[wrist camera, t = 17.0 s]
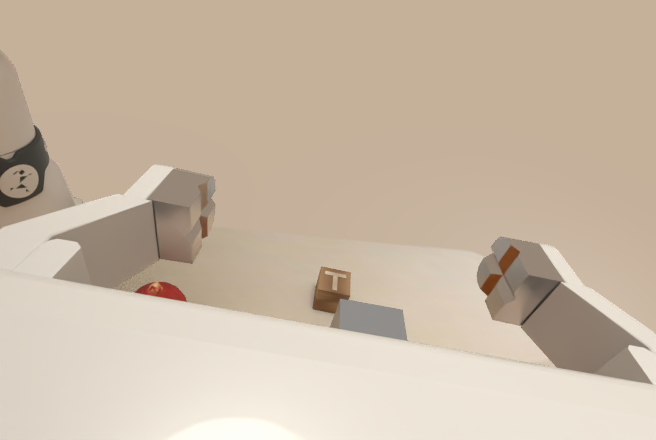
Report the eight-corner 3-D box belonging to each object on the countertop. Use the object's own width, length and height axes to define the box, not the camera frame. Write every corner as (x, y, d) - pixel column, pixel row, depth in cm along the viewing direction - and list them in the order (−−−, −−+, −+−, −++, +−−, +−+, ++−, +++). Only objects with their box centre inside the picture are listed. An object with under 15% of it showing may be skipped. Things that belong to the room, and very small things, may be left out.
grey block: (316, 411, 35) (338, 358, 29) (320, 354, 40) (340, 298, 34) (377, 421, 35) (411, 370, 29) (374, 362, 40) (402, 309, 34)
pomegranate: (121, 355, 35) (107, 306, 30) (140, 309, 39) (131, 260, 35) (182, 357, 36) (178, 309, 31) (193, 312, 41) (191, 264, 36)
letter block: (312, 309, 45) (318, 288, 42) (315, 286, 48) (321, 266, 45) (342, 315, 45) (350, 295, 42) (343, 292, 48) (350, 272, 46)
